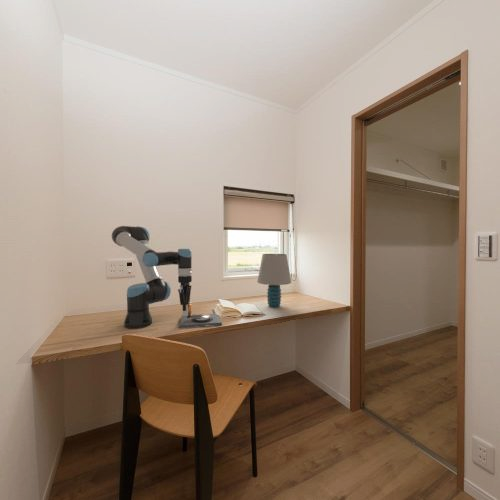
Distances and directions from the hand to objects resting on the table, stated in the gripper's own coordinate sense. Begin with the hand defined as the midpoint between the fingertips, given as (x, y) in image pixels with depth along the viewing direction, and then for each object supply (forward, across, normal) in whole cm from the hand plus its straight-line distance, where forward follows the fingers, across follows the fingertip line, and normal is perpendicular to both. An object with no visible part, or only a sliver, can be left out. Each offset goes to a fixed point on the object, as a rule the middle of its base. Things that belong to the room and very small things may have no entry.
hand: (185, 315), depth 146 cm
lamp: (+6, +53, -47) cm, 71 cm away
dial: (+4, +7, -5) cm, 10 cm away
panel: (+6, +9, -6) cm, 12 cm away
